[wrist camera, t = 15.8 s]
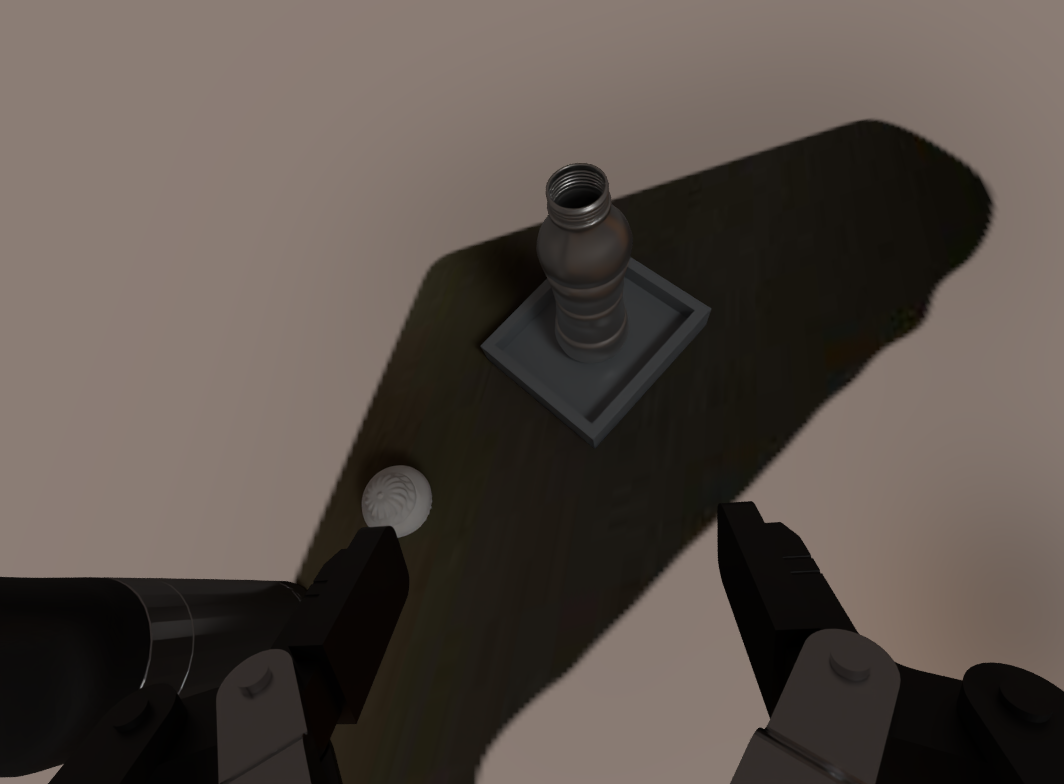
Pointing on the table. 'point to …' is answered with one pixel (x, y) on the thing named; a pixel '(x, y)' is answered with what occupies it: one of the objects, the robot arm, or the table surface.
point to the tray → (606, 387)
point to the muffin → (397, 499)
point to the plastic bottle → (585, 262)
